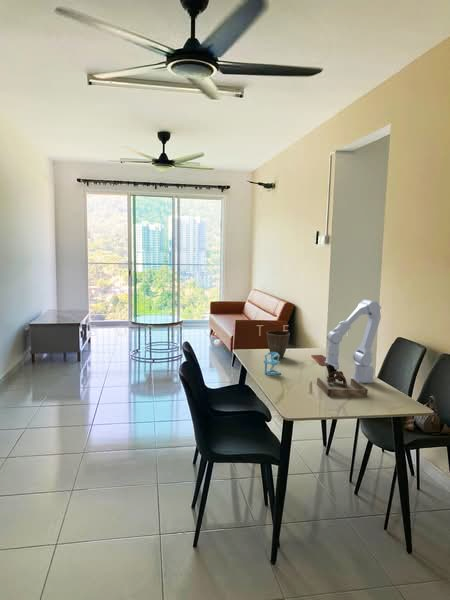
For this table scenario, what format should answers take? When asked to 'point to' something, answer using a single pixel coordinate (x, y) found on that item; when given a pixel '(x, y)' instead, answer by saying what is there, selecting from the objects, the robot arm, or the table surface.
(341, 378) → the pottery mug
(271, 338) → the plant pot
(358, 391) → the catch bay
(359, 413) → the table surface
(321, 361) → the wooden tablet
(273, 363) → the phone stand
